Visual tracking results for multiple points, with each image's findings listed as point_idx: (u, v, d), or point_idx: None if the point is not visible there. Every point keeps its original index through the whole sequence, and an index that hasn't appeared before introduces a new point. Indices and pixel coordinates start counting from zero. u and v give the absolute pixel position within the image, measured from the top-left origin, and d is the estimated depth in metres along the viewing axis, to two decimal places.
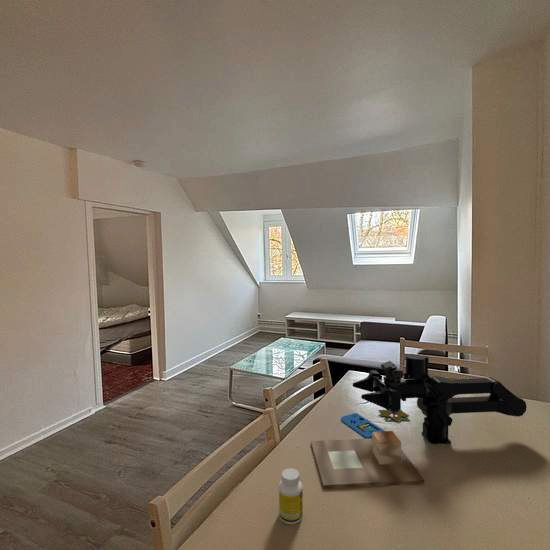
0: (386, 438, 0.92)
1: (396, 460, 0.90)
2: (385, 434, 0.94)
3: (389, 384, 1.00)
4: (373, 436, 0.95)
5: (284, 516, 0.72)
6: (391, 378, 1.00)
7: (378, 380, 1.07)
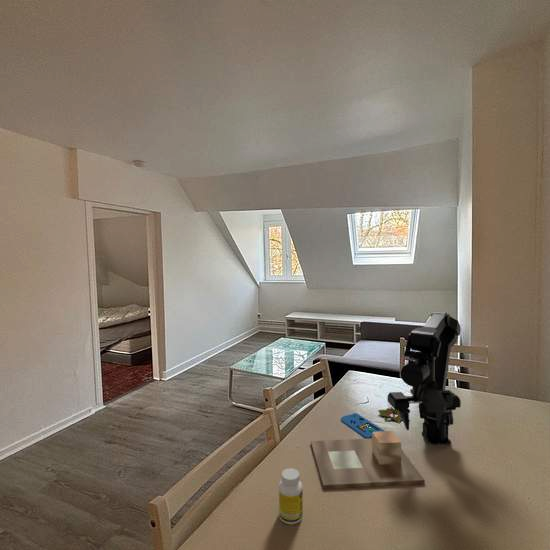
0: (386, 438, 0.92)
1: (396, 460, 0.90)
2: (385, 434, 0.94)
3: None
4: (373, 436, 0.95)
5: (284, 516, 0.72)
6: None
7: None
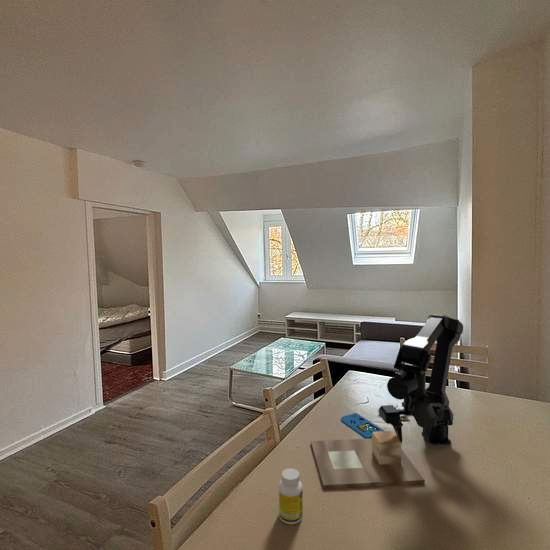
0: (386, 438, 0.92)
1: (396, 460, 0.90)
2: (385, 434, 0.94)
3: None
4: (373, 436, 0.95)
5: (284, 516, 0.72)
6: None
7: None
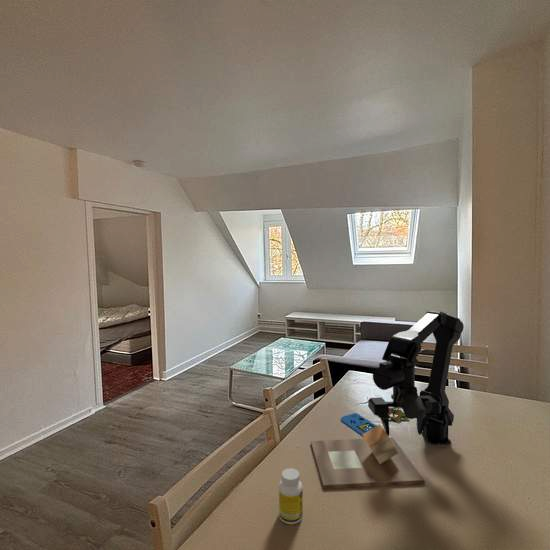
0: (374, 437, 0.92)
1: (392, 452, 0.90)
2: (373, 432, 0.94)
3: None
4: None
5: (284, 516, 0.72)
6: None
7: None
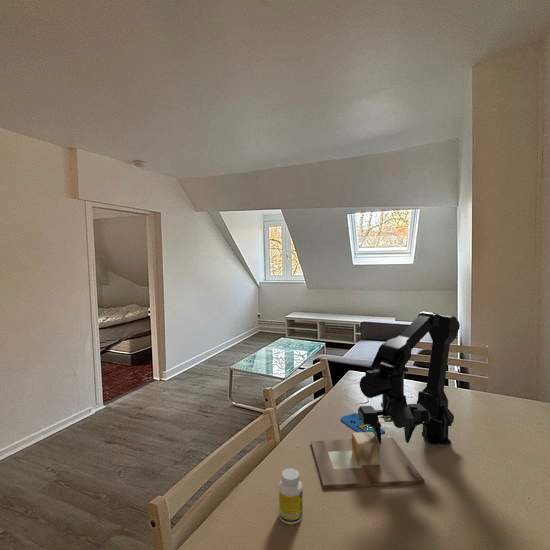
0: (355, 451, 0.92)
1: (376, 448, 0.90)
2: (353, 445, 0.94)
3: None
4: None
5: (284, 516, 0.72)
6: None
7: None
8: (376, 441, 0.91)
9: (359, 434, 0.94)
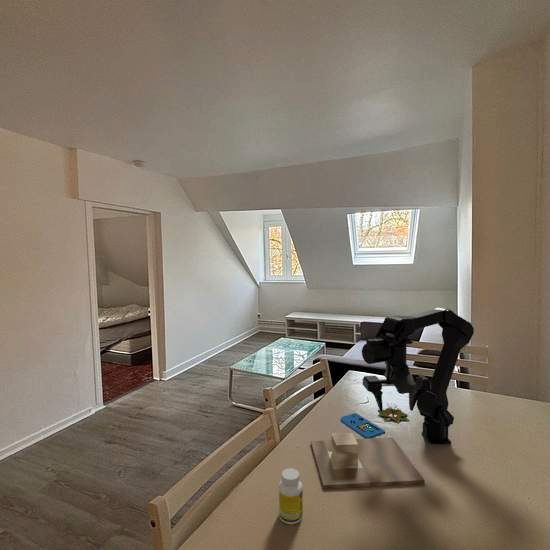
0: None
1: (341, 448, 0.89)
2: None
3: None
4: None
5: (284, 516, 0.72)
6: None
7: None
8: (335, 445, 0.90)
9: (332, 449, 0.94)
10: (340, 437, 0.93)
